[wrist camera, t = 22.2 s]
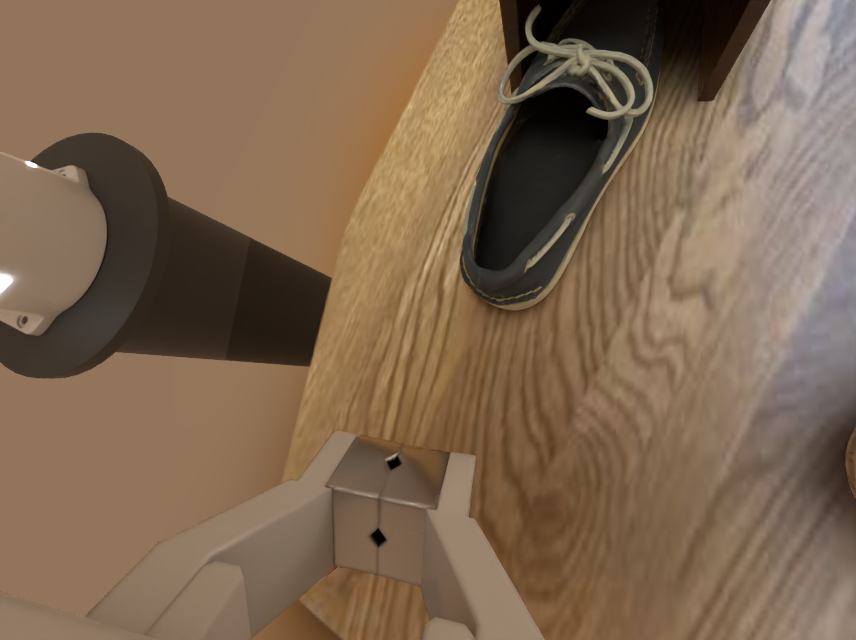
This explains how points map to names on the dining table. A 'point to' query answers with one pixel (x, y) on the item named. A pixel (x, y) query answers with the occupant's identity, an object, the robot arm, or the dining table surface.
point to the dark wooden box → (721, 44)
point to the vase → (851, 462)
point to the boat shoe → (559, 145)
